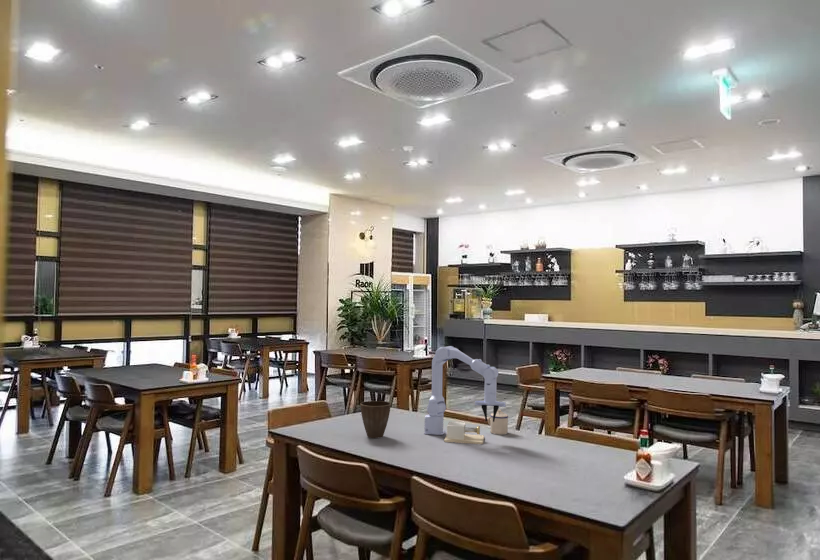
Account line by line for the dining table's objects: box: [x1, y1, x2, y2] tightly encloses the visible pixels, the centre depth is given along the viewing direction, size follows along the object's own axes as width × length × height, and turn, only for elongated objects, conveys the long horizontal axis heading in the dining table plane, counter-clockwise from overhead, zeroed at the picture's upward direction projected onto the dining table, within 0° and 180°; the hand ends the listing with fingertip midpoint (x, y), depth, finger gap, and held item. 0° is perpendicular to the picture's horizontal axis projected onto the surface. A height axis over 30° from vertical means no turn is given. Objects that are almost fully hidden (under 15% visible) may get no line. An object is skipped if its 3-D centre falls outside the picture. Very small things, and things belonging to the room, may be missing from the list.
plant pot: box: [359, 400, 392, 439], centre depth 277 cm, size 15×15×16 cm
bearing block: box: [443, 421, 485, 445], centre depth 274 cm, size 18×14×7 cm
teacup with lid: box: [487, 409, 509, 436], centre depth 292 cm, size 12×9×12 cm
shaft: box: [464, 425, 481, 435], centre depth 274 cm, size 12×4×4 cm, turn 80°
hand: (489, 421), depth 273 cm, fingers open, 3 cm apart
